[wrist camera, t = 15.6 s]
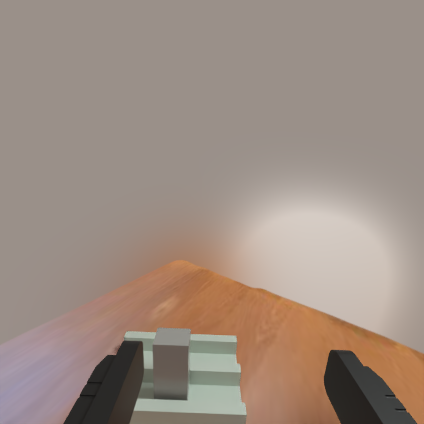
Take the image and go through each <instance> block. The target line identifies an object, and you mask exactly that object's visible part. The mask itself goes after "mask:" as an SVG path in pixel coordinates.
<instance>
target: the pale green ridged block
mask: <svg viewBox="0 0 424 424" xmlns="http://www.w3.org/2000/svg"><path fill="white" fill-rule="evenodd" d="M155 335H156V333H155V332H131V331H127V332H126V334H125V336H124V341H125V340H126V341H142V342H143V355H144V375H143V381H142V385H141V389H140V392H139V395H138V398H137V401H136V405H135V408H134V411H133V414H132V417H131V420H130V423H129V424H246V416H247V414H246V406H245V403H242V402H241V394H240V377H241V369H240V364H237V360H236V347H237V339H236V336H226V335H202V334H191V339H190V376H189V396H188V401H186V400H161V399H154V383H153V341H154V338H155Z"/></svg>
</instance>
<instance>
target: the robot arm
mask: <svg viewBox="0 0 424 424" xmlns="http://www.w3.org/2000/svg"><path fill="white" fill-rule="evenodd" d="M143 375H144V355H143V342H142V341H126V340H125V341H123V343H122V344H121V346H120V348H119V350H118V352H117V354H116V355H107V356H106V357H105V358H104V359H103V360H102V361H101V362H100V363H99V364H98V365H97V366H96V367H95V369H94V371H93V373H92V374H91V376H90V378H89V380H88V381H87V385H85V387H84V388H83V390H82V392H81V394H80V397H79V398H78V399H77V401H76V403H75V404H74V406H73V408H72V410H71V411H70V413H69V415H68V417H67V418H66V420H65V422H64V424H129V423H130V420H131V417H132V414H133V411H134V408H135V405H136V401H137V398H138V395H139V392H140V389H141V385H142V381H143ZM324 385H325V389H326V393H327V395H328V397H329V399H330V402H331V404H332V406H333V408H334V410H335V412H336V414H337V416H338V418H339V420H340V422H341V424H417V423H416V421H415V420H414V419H413V418H412V416H411V415H410V414H409V413H407V411H406V409H405V407H404V406H403V405H402V403H401V402H400V401H399V400H398V399H397V398H396V397H395V394H394V393H393V392H392V391H391V389H390V388H389V387H388V385H387V384H386V383H385V382H384V380H383V379H382V378H381V377H379V376H378V375H377V374H376V373H375V372H374V371H372V370H371V369H370V368H369V367H367V366H363V365H362V363H361V362H360V361H359V359H358V358H357V357H356V355H355V354H354V353H353V352H352V351H347V350H331V351H330V353H329V357H328V362H327V366H326V371H325V375H324Z"/></svg>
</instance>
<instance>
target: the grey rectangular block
mask: <svg viewBox="0 0 424 424" xmlns="http://www.w3.org/2000/svg"><path fill="white" fill-rule="evenodd" d="M190 339H191V329H178V328H158V329H157V332H156V335H155V338H154V341H153V383H154V399H161V400H186V401H188V396H189V376H190Z"/></svg>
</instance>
